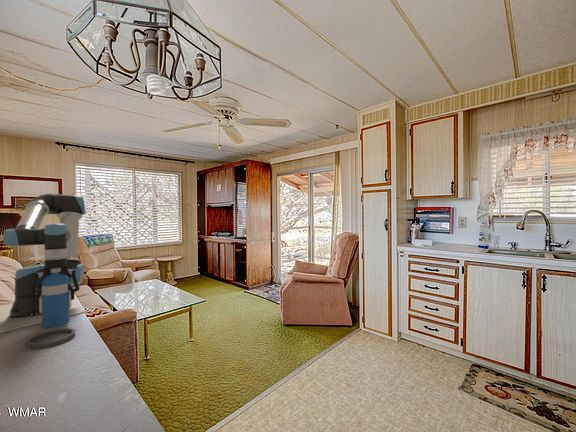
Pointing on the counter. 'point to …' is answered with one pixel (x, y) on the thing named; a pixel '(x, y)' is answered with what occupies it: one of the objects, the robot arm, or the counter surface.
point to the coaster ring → (50, 338)
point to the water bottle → (55, 300)
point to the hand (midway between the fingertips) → (55, 309)
